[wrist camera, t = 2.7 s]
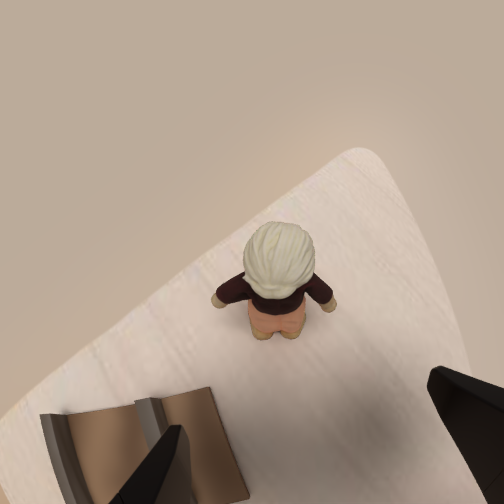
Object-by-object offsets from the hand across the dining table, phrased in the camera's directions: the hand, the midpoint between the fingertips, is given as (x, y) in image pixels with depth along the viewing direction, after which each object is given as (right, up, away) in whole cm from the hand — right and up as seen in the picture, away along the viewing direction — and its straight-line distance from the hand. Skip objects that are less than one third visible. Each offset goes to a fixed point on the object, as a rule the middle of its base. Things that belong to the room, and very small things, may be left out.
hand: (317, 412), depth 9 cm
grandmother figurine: (-1, 0, +15) cm, 15 cm away
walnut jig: (-11, -11, +9) cm, 18 cm away
